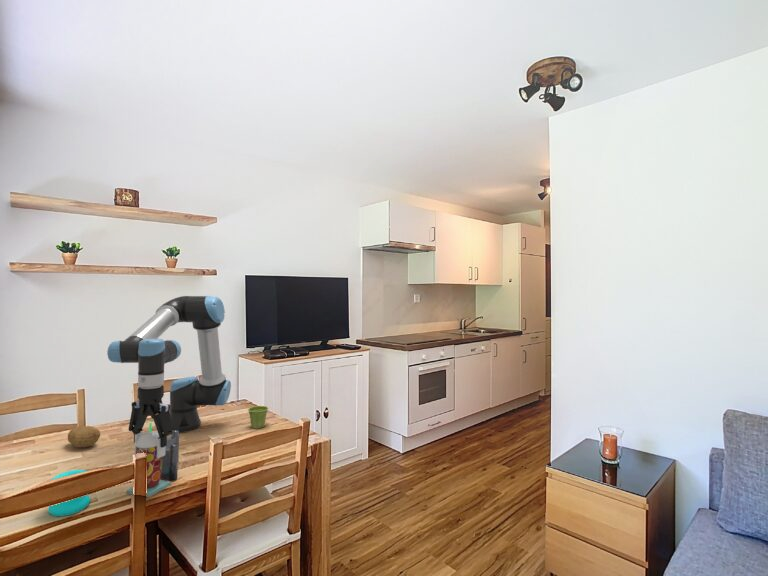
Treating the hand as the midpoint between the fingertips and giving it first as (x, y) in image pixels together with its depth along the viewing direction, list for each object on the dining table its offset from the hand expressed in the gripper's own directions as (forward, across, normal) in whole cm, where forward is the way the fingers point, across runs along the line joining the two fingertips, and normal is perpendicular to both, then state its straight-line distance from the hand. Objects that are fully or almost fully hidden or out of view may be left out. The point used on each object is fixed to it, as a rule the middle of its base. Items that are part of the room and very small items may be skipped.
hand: (149, 454), depth 135 cm
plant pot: (+12, -2, +64) cm, 65 cm away
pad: (+11, 0, 0) cm, 11 cm away
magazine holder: (+11, -3, +13) cm, 18 cm away
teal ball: (+12, -12, -17) cm, 24 cm away
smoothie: (+10, 0, 0) cm, 10 cm away
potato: (+12, -55, +19) cm, 59 cm away
